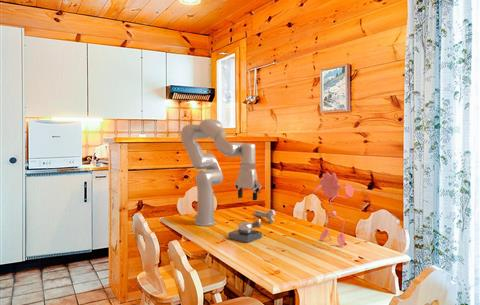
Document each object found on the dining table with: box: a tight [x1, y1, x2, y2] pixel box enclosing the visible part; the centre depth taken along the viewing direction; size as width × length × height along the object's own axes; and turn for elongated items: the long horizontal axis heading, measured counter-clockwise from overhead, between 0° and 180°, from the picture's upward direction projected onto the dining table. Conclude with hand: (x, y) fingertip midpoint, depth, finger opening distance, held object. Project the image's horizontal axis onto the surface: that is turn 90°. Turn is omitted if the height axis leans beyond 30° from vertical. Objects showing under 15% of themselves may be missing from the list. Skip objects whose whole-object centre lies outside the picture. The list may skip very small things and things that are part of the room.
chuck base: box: [228, 229, 263, 244], centre depth 182 cm, size 12×12×3 cm
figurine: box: [312, 171, 355, 252], centre depth 171 cm, size 15×26×35 cm, turn 33°
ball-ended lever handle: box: [237, 218, 262, 234], centre depth 185 cm, size 16×7×4 cm, turn 142°
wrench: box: [253, 209, 277, 224], centre depth 224 cm, size 8×2×30 cm
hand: (247, 198), depth 191 cm, fingers open, 9 cm apart
